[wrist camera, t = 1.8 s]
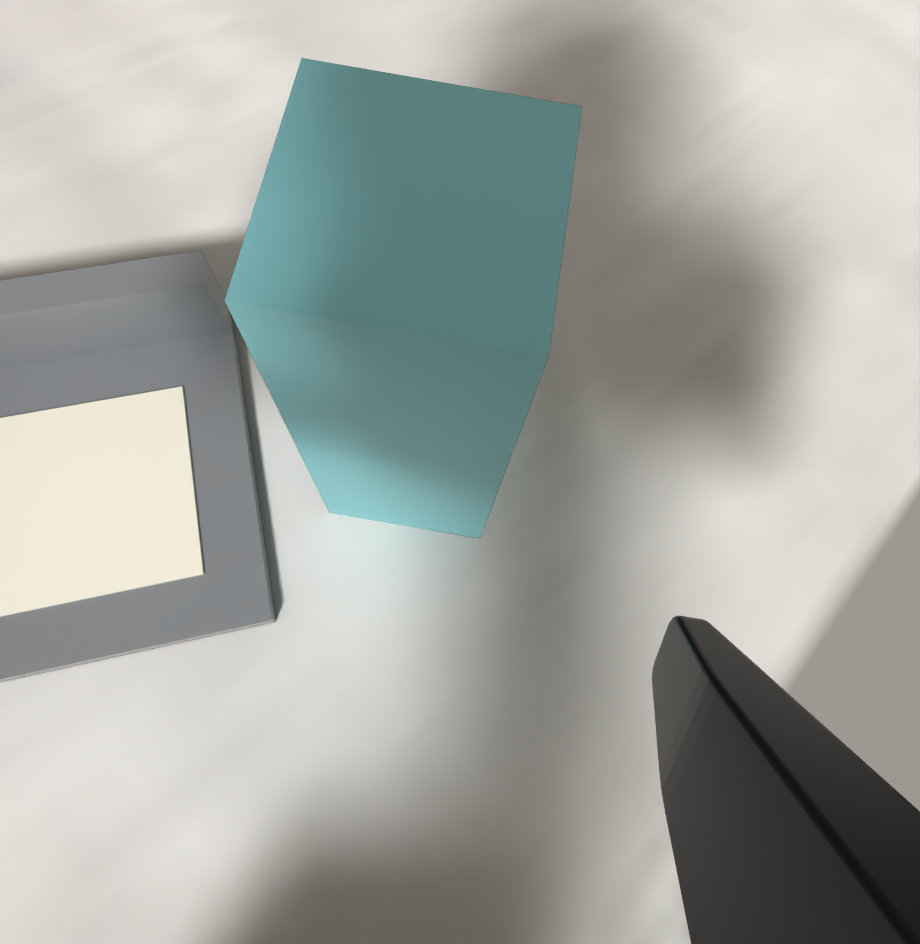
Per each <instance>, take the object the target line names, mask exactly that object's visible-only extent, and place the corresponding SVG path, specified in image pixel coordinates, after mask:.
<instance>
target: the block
mask: <svg viewBox="0 0 920 944" xmlns="http://www.w3.org/2000/svg"><path fill="white" fill-rule="evenodd" d="M581 110H582V106H576V105H570V104H564V103H558V102H553V101H547V100H541V99H535V98H530V97H524V96H518V95H512V94H506V93H501V92H495V91H489V90H483V89H478V88H472V87H466V86H460V85H455V84H449V83H443V82H437V81H431V80H426V79H420V78H414V77H408V76H403V75H397V74H391V73H385V72H379V71H374V70H368V69H362V68H356V67H351V66H345V65H339V64H333V63H327V62H322V61H316V60H310V59H304V58H301V62H300V65H299V68H298V71H297V74H296V77H295V80H294V84H293V87H292V90H291V93H290V96H289V99H288V102H287V106H286V109H285V112H284V115H283V118H282V121H281V125H280V128H279V131H278V134H277V137H276V140H275V143H274V147H273V150H272V153H271V156H270V159H269V162H268V165H267V169H266V172H265V175H264V178H263V181H262V184H261V187H260V191H259V194H258V197H257V200H256V203H255V206H254V209H253V213H252V216H251V219H250V222H249V225H248V228H247V231H246V235H245V238H244V241H243V244H242V247H241V250H240V253H239V257H238V260H237V263H236V266H235V269H234V272H233V275H232V279H231V282H230V285H229V288H228V291H227V294H226V297H225V303H226V305H227V307H228V309H229V311H230V313H231V315H232V317H233V319H234V321H235V323H236V325H237V327H238V329H239V331H240V333H241V335H242V337H243V339H244V341H245V343H246V345H247V347H248V349H249V351H250V353H251V355H252V357H253V359H254V361H255V364H256V366H257V368H258V370H259V372H260V374H261V376H262V378H263V380H264V382H265V384H266V386H267V388H268V390H269V392H270V394H271V396H272V398H273V400H274V402H275V404H276V406H277V408H278V410H279V412H280V414H281V416H282V418H283V420H284V422H285V424H286V426H287V428H288V430H289V432H290V434H291V436H292V438H293V440H294V442H295V444H296V446H297V448H298V450H299V452H300V454H301V456H302V459H303V461H304V463H305V465H306V467H307V469H308V471H309V473H310V475H311V477H312V479H313V481H314V483H315V485H316V487H317V489H318V491H319V493H320V495H321V497H322V499H323V501H324V503H325V505H326V507H327V509H328V511H329V513H335V514H340V515H346V516H352V517H358V518H364V519H370V520H375V521H381V522H387V523H393V524H399V525H405V526H410V527H416V528H422V529H428V530H434V531H440V532H445V533H451V534H457V535H463V536H469V537H475V538H480V536H481V533H482V531H483V528H484V525H485V523H486V520H487V517H488V515H489V512H490V510H491V507H492V504H493V502H494V499H495V496H496V494H497V491H498V489H499V486H500V483H501V481H502V478H503V475H504V473H505V470H506V467H507V465H508V462H509V460H510V457H511V454H512V452H513V449H514V446H515V444H516V441H517V438H518V436H519V433H520V431H521V428H522V425H523V423H524V420H525V417H526V415H527V412H528V410H529V407H530V404H531V402H532V399H533V396H534V394H535V391H536V388H537V386H538V383H539V381H540V378H541V375H542V373H543V370H544V367H545V365H546V362H547V360H548V357H549V350H550V343H551V335H552V328H553V320H554V313H555V305H556V298H557V290H558V283H559V275H560V268H561V260H562V253H563V245H564V238H565V230H566V223H567V215H568V208H569V200H570V193H571V185H572V178H573V170H574V163H575V155H576V148H577V140H578V133H579V125H580V118H581Z"/></svg>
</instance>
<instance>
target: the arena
mask: <svg viewBox="0 0 920 944" xmlns="http://www.w3.org/2000/svg"><path fill="white" fill-rule="evenodd" d="M274 622H276V621H275V614H274V607H273V600H272V593H271V585H270V578H269V571H268V564H267V557H266V550H265V543H264V536H263V529H262V522H261V515H260V508H259V500H258V493H257V486H256V479H255V472H254V465H253V458H252V451H251V444H250V437H249V430H248V423H247V416H246V408H245V401H244V394H243V387H242V380H241V373H240V366H239V359H238V352H237V345H236V338H235V331H234V323H233V317H232V315H231V313H230V311H229V309H228V307H227V305H226V303H225V296H224V294H223V292H222V290H221V288H220V286H219V284H218V282H217V280H216V278H215V276H214V274H213V272H212V270H211V268H210V266H209V264H208V262H207V260H206V258H205V256H204V254H203V252H202V250H200V251H193V252H187V253H180V254H173V255H167V256H160V257H153V258H147V259H140V260H133V261H127V262H120V263H113V264H107V265H100V266H93V267H87V268H80V269H73V270H67V271H60V272H53V273H47V274H40V275H33V276H27V277H20V278H13V279H6V280H0V682H4V681H8V680H13V679H17V678H22V677H27V676H31V675H36V674H40V673H45V672H49V671H54V670H59V669H63V668H68V667H72V666H77V665H81V664H86V663H91V662H95V661H100V660H104V659H109V658H113V657H118V656H123V655H127V654H132V653H136V652H141V651H145V650H150V649H155V648H159V647H164V646H168V645H173V644H177V643H182V642H187V641H191V640H196V639H200V638H205V637H209V636H214V635H219V634H223V633H228V632H232V631H237V630H242V629H246V628H251V627H255V626H260V625H264V624H269V623H274Z"/></svg>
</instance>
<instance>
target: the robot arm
mask: <svg viewBox="0 0 920 944" xmlns="http://www.w3.org/2000/svg"><path fill="white" fill-rule="evenodd" d="M652 686H653V698H654V710H655V723H656V735H657V747H658V759H659V772H660V781H661V791H662V797H663V802H664V808H665V814H666V819H667V824H668V829H669V834H670V839H671V844H672V849H673V854H674V859H675V864H676V869H677V874H678V879H679V884H680V889H681V894H682V899H683V904H684V909H685V914H686V919H687V924H688V930H689V935H690V940H691V944H920V812H919V811H918V810H917V809H916V808H915V807H914V806H913V805H912V804H911V803H910V802H908V801H907V800H906V799H905V798H904V797H903V796H902V795H901V794H899V793H898V792H897V791H896V790H895V789H894V788H893V787H892V786H891V785H890V784H888V783H887V782H886V781H885V780H884V779H883V778H882V777H880V776H879V775H878V774H877V773H876V772H875V771H874V770H873V769H872V768H871V767H869V766H868V765H867V764H866V763H865V762H864V761H863V760H862V759H861V758H859V757H858V756H857V755H856V754H855V753H854V752H853V751H852V750H850V749H849V748H848V747H847V746H846V745H845V744H844V743H843V742H842V741H840V740H839V739H838V738H837V737H836V736H835V735H834V734H833V733H832V732H830V731H829V730H828V729H827V728H826V727H825V726H824V725H823V724H822V723H820V722H819V721H818V720H817V719H816V718H815V717H814V716H813V715H811V714H810V713H809V712H808V711H807V710H806V709H805V708H804V707H803V706H801V705H800V704H799V703H798V702H797V701H796V700H795V699H794V698H793V697H791V696H790V695H789V694H788V693H787V692H786V691H785V690H784V689H783V688H781V687H780V686H779V685H778V684H777V683H776V682H775V681H774V680H772V679H771V678H770V677H769V676H768V675H767V674H766V673H765V672H764V671H762V670H761V669H760V668H759V667H758V666H757V665H756V664H755V663H754V662H752V661H751V660H750V659H749V658H748V657H747V656H746V655H745V654H743V653H742V652H741V651H740V650H739V649H738V648H737V647H736V646H735V645H733V644H732V643H731V642H730V641H729V640H728V639H727V638H726V637H725V636H723V635H722V634H721V633H720V632H719V631H718V630H717V629H716V628H714V627H713V626H712V625H711V624H710V623H709V622H707V621H705V620H703V619H697V618H691V617H685V616H676V617H674V618H673V619H672V620H671V621H670V623H669V625H668V627H667V630H666V633H665V635H664V638H663V641H662V643H661V646H660V649H659V652H658V654H657V657H656V660H655V662H654V666H653V673H652Z"/></svg>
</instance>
